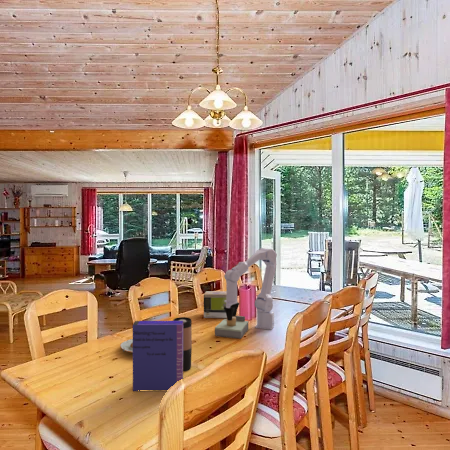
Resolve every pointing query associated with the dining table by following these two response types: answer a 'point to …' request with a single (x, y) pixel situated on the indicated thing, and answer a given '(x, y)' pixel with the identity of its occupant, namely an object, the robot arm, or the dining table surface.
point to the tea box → (214, 304)
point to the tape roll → (232, 322)
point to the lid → (239, 326)
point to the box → (231, 333)
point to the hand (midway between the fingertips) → (231, 318)
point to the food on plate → (127, 345)
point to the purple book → (157, 354)
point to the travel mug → (186, 342)
